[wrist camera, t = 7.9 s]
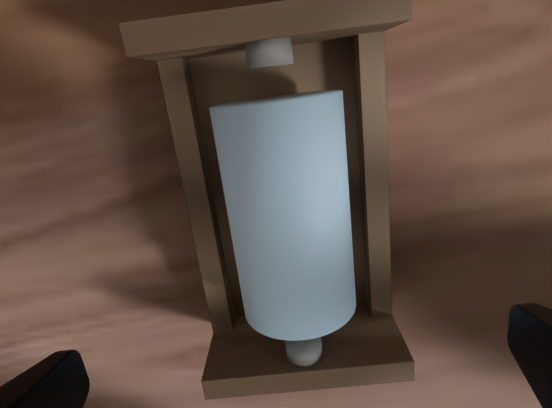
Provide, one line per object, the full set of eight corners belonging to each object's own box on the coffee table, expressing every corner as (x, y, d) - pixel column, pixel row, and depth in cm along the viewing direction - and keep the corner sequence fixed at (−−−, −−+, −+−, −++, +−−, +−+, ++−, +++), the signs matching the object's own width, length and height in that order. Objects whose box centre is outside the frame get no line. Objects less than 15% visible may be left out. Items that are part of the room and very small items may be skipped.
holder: (382, 309, 21) (414, 380, 16) (222, 325, 21) (205, 399, 17) (371, 10, 16) (411, -18, 11) (165, 38, 17) (118, 22, 12)
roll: (346, 271, 19) (366, 334, 15) (249, 280, 20) (239, 345, 15) (333, 88, 17) (353, 93, 12) (220, 102, 17) (196, 113, 12)
